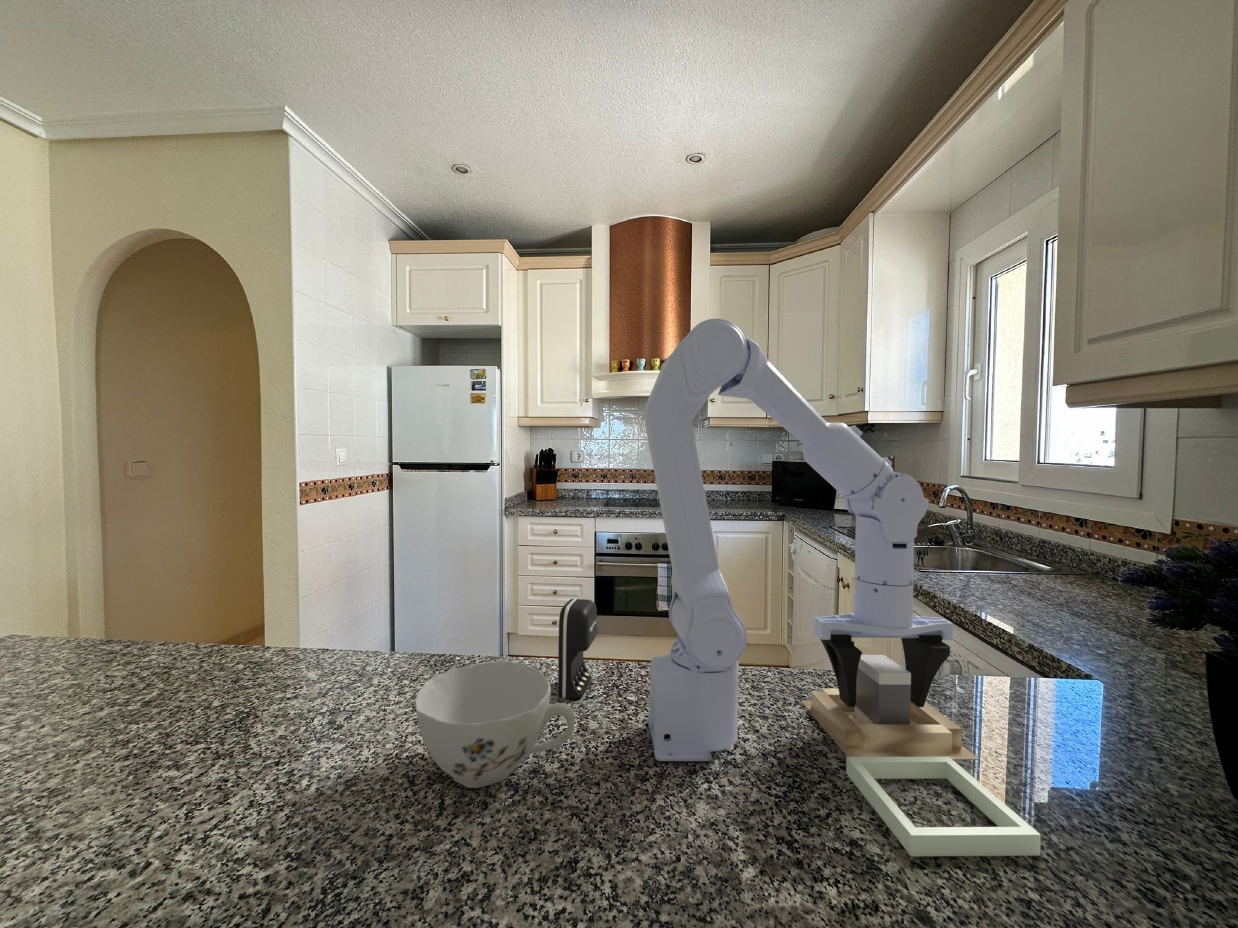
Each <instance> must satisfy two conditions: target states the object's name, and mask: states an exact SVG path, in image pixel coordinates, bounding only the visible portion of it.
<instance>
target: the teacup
mask: <svg viewBox="0 0 1238 928" xmlns="http://www.w3.org/2000/svg"><path fill="white" fill-rule="evenodd" d="M551 690H552V689H551V683H550V680H548V679H547V677H546V676H544V674H543V673H542V671H541V670H539V669H538V668H535V667H532V666H531V665H529V664H525V663H521V662H513V661H487V662H485V661H484V662H477V663H476V662H475V663H473V664H470V665H466V666H461V667H453V668H450V669H447V670H446V671H445V672H443V673H439V674H437V675H434V676H433V677H431V678H430V679H429V680H426V681H425V682H424V684H423V685H422V687H421V688H420V689H419V690H418V692H417V694H416V697H415V701H414V703H415V710H416V711H415V713H416V718H417V723H418V728H419V732H420V736H421V738H422V742H423V744H424V747H425V748H426V750H427V752H428V754H429V756H430V757H431V758H432V760H433V761H434V762H435V763H436V765H437V766H438V767H439V768H440V769H441V770H442V771H444V773H446V774H447V775H448V776H450V777H452V779H453V781H454V782H456V783H457V784H460V785H462V786H464V787H465V788H469V789H477V788H478V789H479V788H482V787H483V788H484V787H487V786H491V785H494V784H497V783H499V782H502V781H504V780H505V779H506V778H507V777H508V776H509V775H510V774H512V773H513V771H514V770H515V769H516V768H518V766H520V765H521V764H522V763H523V762H524V760H525V759H526V758H527V757H529V756H530V755H532V754H535V753H542V752H545V751H548V750H554V749H557V748H559V747H561V746H562V745H563V744H564V743H566V742H567V741H569V739H570V738H571V736H572V735H573V733H574V729H575V712H574V710H573V708H572V707H571V706H570V705H569V704H568V703H565V702H554V703H553V704H550V701H551ZM557 715H559V716H563V717H564V719H565V720H566V723H567V724H566V725H567V726H566V730H565V731H564V732H562V733H561V734H560V735H559V736H557V737H555V738H553V739H551V740H546V741H545V742H541V743H538V739H539V737H540V735H541V733H542V730H544V728H545V727H546V726H547V725H548V723H549V722H550V720H551V719H552V718H553V717H554V716H557Z"/></svg>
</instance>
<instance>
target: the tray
mask: <svg viewBox="0 0 1238 928" xmlns="http://www.w3.org/2000/svg"><path fill="white" fill-rule="evenodd" d="M845 773H846V775H847V776H848V777H849V779H850V780H851V782H853V783H854V785H855V786H856V788H857V789H858V790H859V792H860V793H862V796H864V798H865V799H866V801H867V802H868V803H869V804H870V806H871V807H872V808H873V809H874V811H875V812H876V813H877V814H878V816H879V817H880V818H881V820H882V821H883V822H884V823H885V825H886V826H887V827H888V829H889V830H890V831H891V833H893V835H894V836H895V837H896V839H897V840H898V841H899V842H900V844H901V845H902V846H903V848H904V849H905V850H906V852H907V853H908V855H910V856H911V857H986V856H987V857H996V856H999V857H1002V856H1004V857H1007V856H1009V857H1013V856H1020V857H1021V856H1022V857H1023V856H1025V857H1026V856H1027V857H1028V856H1041V844H1042V843H1041V839H1042V838H1041V837H1042V836H1041V835H1042V834H1041V833H1039V832H1038V831H1037V830H1036V829H1035V828H1033V827H1032V825H1030V824H1029V823H1028V822H1027V821H1026V820H1024V819H1023V818H1022V817H1020V815H1018V814H1017V813H1016V812H1015V811H1014V810H1012V809H1011V808H1010V807H1009V806H1008V805H1006V804H1005V803H1004V802H1003V801H1002V800H1001V799H1000V798H998V797H997V796H996V795H995V794H994V793H992V792H991V791H990V789H988V788H987V787H986V786H984V785H983V784H982V783H980V782H979V780H977V779H976V778H975V777H974V776H972V775H971V774H970V773H968V771H966V770H965V769H964V768H963V767H962V766H961V765H959V763H957V762H956V760H952V759H951V758H950V757H847V756H846V770H845ZM877 779H879V780H880V779H885V780H886V779H889V780H890V779H895V780H896V779H897V780H898V779H902V780H903V779H908V780H909V779H915V780H916V779H917V780H918V779H927V780H928V779H930V780H931V779H933V780H934V779H946V780H947V781H948V782H949V783H951V784H952V786H954V787H955V789H957V790H958V791H959V792H960V793H961V794H963V795H964V796H965V797H966V799H968V800H969V801H970V802H971V803H972V804H973V805H974V806H975V807H977V809H979V810H980V811H981V812H982V813H983V814H985V816H987V818H988V819H989V820H991V821H992V822H993V823H994V824H995V825H996V826H954V827H953V826H939V827H938V826H933V827H932V826H931V827H930V826H929V827H928V826H924V827H921V826H917V827H916V826H915V825H914V824H913V822H911V820H910V819H909V817H907V816H906V814H905V813H904V811H902V810H901V808H899V807H898V805H897V804H896V803H895V802H894V800H893V799H892V798H891V797H890V796H889V794H888V793H886V791H885V790H884V789H883V788H882V787H881V785H880V784H879V783H878V782H877Z"/></svg>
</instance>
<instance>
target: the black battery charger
mask: <svg viewBox="0 0 1238 928" xmlns="http://www.w3.org/2000/svg"><path fill="white" fill-rule="evenodd" d="M597 613H598V612H597V605H596V603H595V602H594V601H593V600H591V599H586V598H585V599H584V598H577V597H575V598H570V599H569V600H568V601H566V603H565V604H563V606H562V607H561V609H560V612H559V619H558V654H557V655H558V663H557V665H558V670H557V673H558V675H557V676H558V678H557V679H558V683H557V696H558V697H559V698H560V699H563V700H566V699H572V700H573V699H581V698H582V697H584V695H585V693H586V692H587V690H588V687H589V686H590V683H591V682H592V675H591V674H590V672H589V670H588V669H587V666H586V663H585V660H584V652H586V651H588V650H589V649H590V647H591V645H592V644H593V642H594V640H595V639H596V637H597V636H598V635H597V634H598V615H597Z"/></svg>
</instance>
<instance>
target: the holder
mask: <svg viewBox="0 0 1238 928" xmlns="http://www.w3.org/2000/svg"><path fill="white" fill-rule="evenodd" d="M801 703H802V704H803V706H805V708H806V709H807V710H808V711H809V713H810V714H811V715H812V716H813V718H815V719H816V721H817V722H818V723H819V725H820V726H821V727H822V728H823V729H824V730H825V731H826V733H827V734H828V735H829V736H830V738H831V739H832V740H833V741H834V742H835V744H836V745H837V747H838V748H840V750H841V751H842V752H843V753H844V755H845V756H846V758H847V757H950V758H951V759H952V760H953V761H957V760H959V761H961V760H963V761H965V760H966V761H968V760H971V761H972V760H973V761H974V760H976V761H977V760H980V758H979V757H978V756H976V755H975V754H974V753H973V752H971V751H969V749H967V748H966V747H964V746H963V745H962V743H963V741H962V740H963V739H962V738H963V737H962V736H963V735H962V733H963V728H962V727H960V726H959V725H958V724H957V723H955V722H954V721H952V719H950V718H948V717H947V716H946V715H944V714H943V713H942V712H940V711H939V710H938V709H936V708H935V707H933V706H932V705H931V704H929V703H928V702H926V701H925V704H924V707H917V706H916V705H915V704H913V703H912V702H911V701H910V724H862V723H861V722H860V721H859V720H858V719H857V718H856V716H855V715H854V707H848V706H847V705H846V704H845V703H844V702H843V701H842V700H841V699H840V695H839V689H838V687H837V688H835V687H834V688H833V687H832V688H823V687H822V688H821V691H816V690H815V691H811V692H810V700H801Z"/></svg>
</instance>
